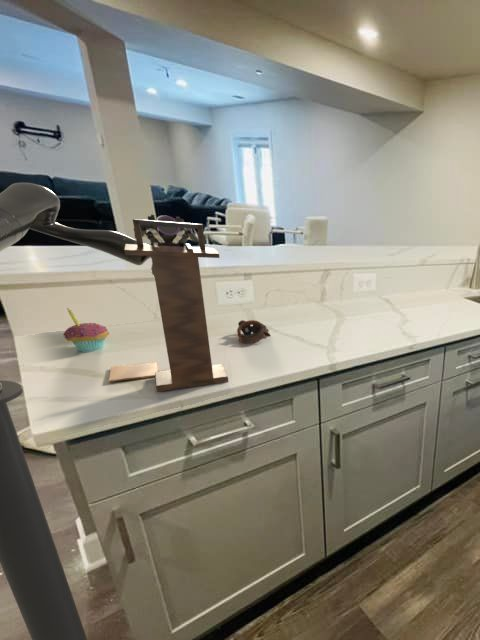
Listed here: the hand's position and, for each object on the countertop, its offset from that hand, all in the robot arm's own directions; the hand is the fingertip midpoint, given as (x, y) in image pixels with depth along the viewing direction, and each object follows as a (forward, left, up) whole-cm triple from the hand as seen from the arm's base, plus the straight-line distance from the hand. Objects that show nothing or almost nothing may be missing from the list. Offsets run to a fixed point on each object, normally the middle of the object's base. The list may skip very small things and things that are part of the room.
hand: (166, 219), depth 96 cm
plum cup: (0, -1, -3) cm, 4 cm away
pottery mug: (+18, +7, -37) cm, 41 cm away
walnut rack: (0, -18, -37) cm, 41 cm away
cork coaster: (-11, -8, -37) cm, 39 cm away
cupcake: (-20, +13, -37) cm, 44 cm away
